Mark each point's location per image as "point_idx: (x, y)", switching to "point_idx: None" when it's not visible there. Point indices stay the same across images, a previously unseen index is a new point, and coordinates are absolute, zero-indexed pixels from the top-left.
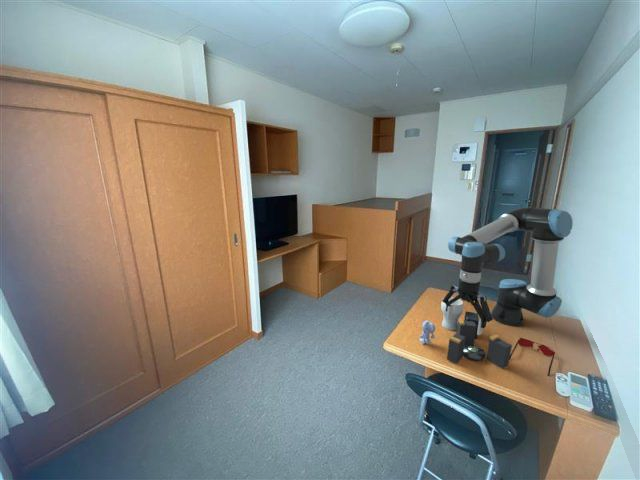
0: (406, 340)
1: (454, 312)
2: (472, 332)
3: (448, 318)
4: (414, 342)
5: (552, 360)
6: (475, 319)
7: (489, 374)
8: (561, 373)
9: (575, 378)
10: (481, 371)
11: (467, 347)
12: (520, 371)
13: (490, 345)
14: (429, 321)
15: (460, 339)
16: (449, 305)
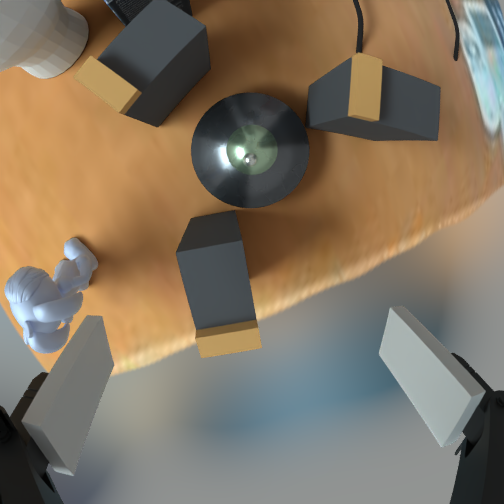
0: None
1: (22, 36)
2: (193, 58)
3: (109, 370)
4: None
5: None
6: None
7: (357, 218)
8: (462, 22)
9: (481, 25)
10: (331, 229)
11: (222, 153)
12: None
13: (344, 122)
14: (19, 297)
15: (239, 296)
16: (42, 454)
